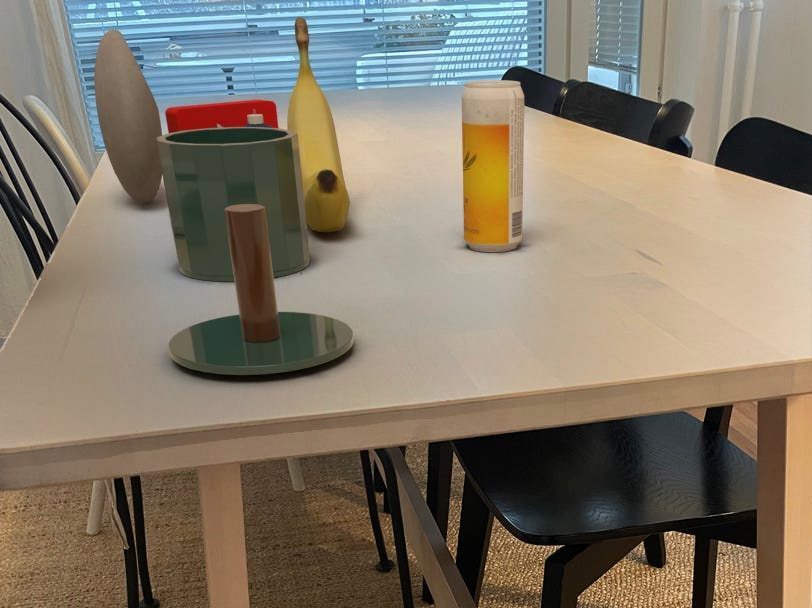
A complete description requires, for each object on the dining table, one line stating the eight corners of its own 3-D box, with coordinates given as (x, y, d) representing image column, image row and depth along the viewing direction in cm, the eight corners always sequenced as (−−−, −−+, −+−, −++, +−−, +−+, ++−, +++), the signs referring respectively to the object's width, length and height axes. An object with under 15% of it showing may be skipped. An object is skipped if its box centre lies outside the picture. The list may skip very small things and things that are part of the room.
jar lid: (143, 382, 69) (112, 227, 63) (203, 325, 80) (181, 189, 74) (334, 385, 68) (320, 228, 62) (368, 327, 79) (358, 190, 74)
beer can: (479, 238, 106) (478, 79, 98) (531, 243, 104) (534, 80, 96) (454, 250, 102) (450, 84, 93) (507, 255, 99) (508, 86, 91)
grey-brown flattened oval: (181, 214, 119) (151, 32, 108) (120, 218, 117) (84, 33, 106) (165, 189, 133) (137, 26, 123) (110, 193, 131) (77, 27, 120)
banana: (361, 245, 104) (345, 22, 93) (305, 248, 103) (282, 23, 92) (340, 206, 122) (324, 16, 111) (293, 208, 121) (272, 16, 110)
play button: (189, 195, 129) (175, 109, 124) (178, 192, 131) (164, 107, 125) (284, 181, 138) (275, 100, 132) (273, 178, 139) (263, 98, 134)
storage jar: (160, 280, 92) (135, 145, 86) (202, 250, 103) (182, 127, 96) (292, 282, 91) (277, 145, 85) (321, 251, 102) (309, 126, 95)
